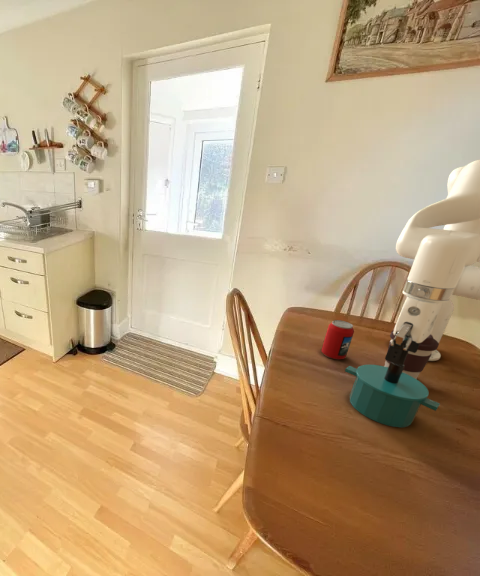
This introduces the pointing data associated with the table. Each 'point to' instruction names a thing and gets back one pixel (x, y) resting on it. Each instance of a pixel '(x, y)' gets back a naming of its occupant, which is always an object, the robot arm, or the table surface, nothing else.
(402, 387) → the lid
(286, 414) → the table surface
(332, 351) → the beverage can
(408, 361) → the coffee cup
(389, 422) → the pot
